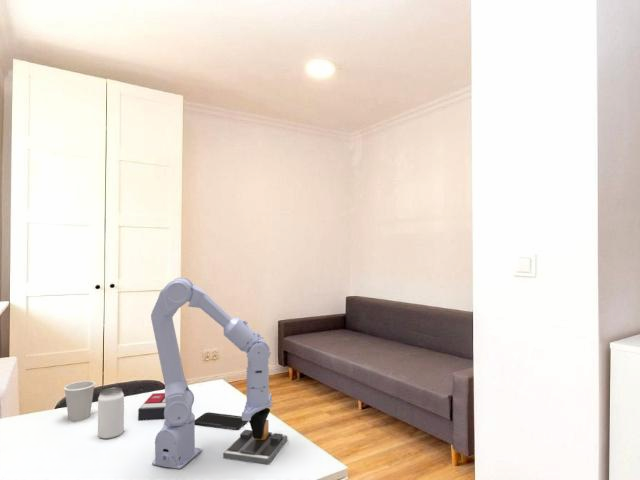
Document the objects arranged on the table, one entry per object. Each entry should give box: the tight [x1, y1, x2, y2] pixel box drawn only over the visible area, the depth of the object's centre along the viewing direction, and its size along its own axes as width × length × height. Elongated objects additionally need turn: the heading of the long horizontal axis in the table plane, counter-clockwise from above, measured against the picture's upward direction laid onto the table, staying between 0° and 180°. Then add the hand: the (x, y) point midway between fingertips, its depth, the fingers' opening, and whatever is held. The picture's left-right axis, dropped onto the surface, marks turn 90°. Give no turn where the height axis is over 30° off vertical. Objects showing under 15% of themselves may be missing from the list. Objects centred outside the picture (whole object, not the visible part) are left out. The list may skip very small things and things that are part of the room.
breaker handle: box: [258, 419, 269, 440], centre depth 109 cm, size 3×3×4 cm
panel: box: [222, 429, 288, 465], centre depth 106 cm, size 13×12×2 cm
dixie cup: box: [63, 380, 96, 422], centre depth 126 cm, size 8×8×10 cm
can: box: [97, 387, 125, 440], centre depth 115 cm, size 6×6×12 cm
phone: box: [195, 411, 249, 431], centre depth 122 cm, size 8×1×15 cm
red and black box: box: [137, 392, 166, 421], centre depth 132 cm, size 11×4×15 cm
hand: (257, 438), depth 107 cm, fingers closed
